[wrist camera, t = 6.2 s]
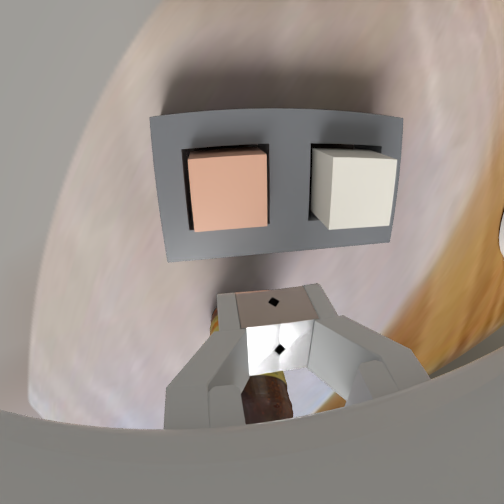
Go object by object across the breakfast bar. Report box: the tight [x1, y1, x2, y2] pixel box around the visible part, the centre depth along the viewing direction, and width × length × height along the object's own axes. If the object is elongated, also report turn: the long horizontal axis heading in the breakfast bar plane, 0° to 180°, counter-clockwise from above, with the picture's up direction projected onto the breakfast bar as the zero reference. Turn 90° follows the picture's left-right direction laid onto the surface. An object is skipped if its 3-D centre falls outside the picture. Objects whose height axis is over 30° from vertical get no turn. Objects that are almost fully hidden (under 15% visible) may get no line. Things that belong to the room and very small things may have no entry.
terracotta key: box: [188, 147, 267, 232], centre depth 21 cm, size 5×5×4 cm
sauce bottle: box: [210, 308, 293, 425], centre depth 24 cm, size 6×6×20 cm
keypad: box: [150, 108, 403, 262], centre depth 24 cm, size 19×11×5 cm, turn 91°
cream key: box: [310, 148, 397, 230], centre depth 21 cm, size 5×5×4 cm
